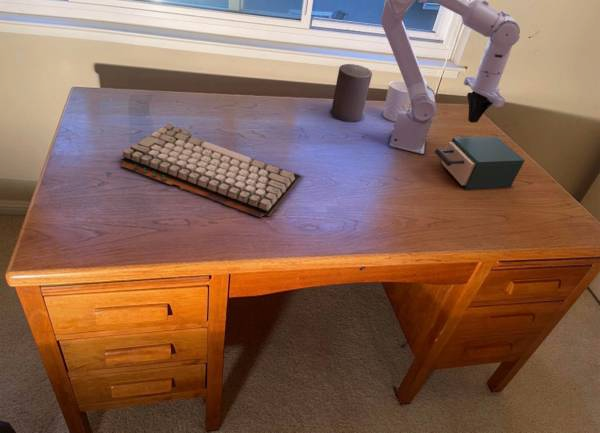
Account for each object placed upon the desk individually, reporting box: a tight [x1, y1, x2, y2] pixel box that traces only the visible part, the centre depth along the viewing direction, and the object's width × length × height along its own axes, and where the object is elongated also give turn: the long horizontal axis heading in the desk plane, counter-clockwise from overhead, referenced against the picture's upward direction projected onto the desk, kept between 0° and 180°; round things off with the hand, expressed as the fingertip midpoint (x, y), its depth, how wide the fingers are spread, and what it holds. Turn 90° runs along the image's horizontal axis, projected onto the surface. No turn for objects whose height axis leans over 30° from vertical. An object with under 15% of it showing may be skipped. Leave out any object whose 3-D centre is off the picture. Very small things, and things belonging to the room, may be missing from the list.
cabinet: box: [450, 136, 526, 191], centre depth 111 cm, size 14×12×8 cm
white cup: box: [382, 80, 412, 123], centre depth 132 cm, size 8×8×10 cm
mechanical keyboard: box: [120, 122, 302, 218], centre depth 98 cm, size 38×19×3 cm, turn 68°
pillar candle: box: [330, 63, 373, 122], centre depth 127 cm, size 10×10×15 cm
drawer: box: [434, 141, 475, 186], centre depth 110 cm, size 17×10×6 cm, turn 105°
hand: (472, 121), depth 114 cm, fingers closed
